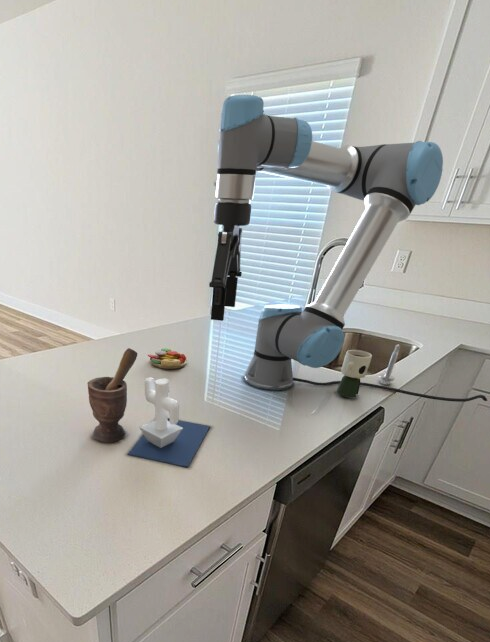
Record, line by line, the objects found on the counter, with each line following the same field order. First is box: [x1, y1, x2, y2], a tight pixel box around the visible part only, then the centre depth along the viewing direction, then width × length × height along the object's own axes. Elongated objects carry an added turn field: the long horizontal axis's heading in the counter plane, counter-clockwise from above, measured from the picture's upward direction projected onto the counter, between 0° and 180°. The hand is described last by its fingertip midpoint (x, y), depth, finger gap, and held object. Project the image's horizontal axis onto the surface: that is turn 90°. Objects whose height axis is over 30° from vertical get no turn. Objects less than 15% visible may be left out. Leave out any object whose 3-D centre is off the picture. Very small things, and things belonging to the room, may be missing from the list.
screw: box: [378, 343, 401, 386], centre depth 130 cm, size 13×5×5 cm
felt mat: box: [127, 417, 211, 468], centre depth 96 cm, size 14×20×1 cm
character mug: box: [336, 349, 373, 399], centre depth 120 cm, size 11×7×13 cm, turn 136°
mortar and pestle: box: [86, 347, 138, 443], centre depth 92 cm, size 12×9×20 cm
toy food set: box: [147, 347, 188, 370], centre depth 139 cm, size 13×13×3 cm
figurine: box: [138, 377, 183, 448], centre depth 91 cm, size 7×9×15 cm
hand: (223, 312), depth 93 cm, fingers open, 13 cm apart
